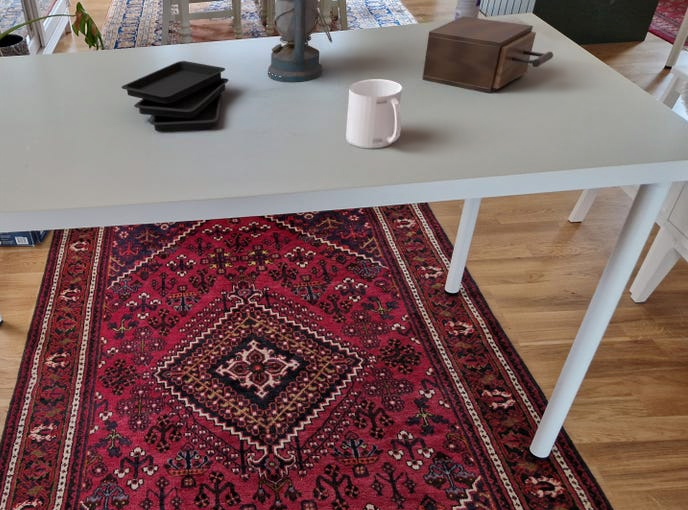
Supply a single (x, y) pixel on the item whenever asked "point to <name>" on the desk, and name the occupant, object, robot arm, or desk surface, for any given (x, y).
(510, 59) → the drawer
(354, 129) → the mug
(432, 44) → the cabinet
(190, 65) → the tray
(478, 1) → the beverage can
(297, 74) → the lantern
